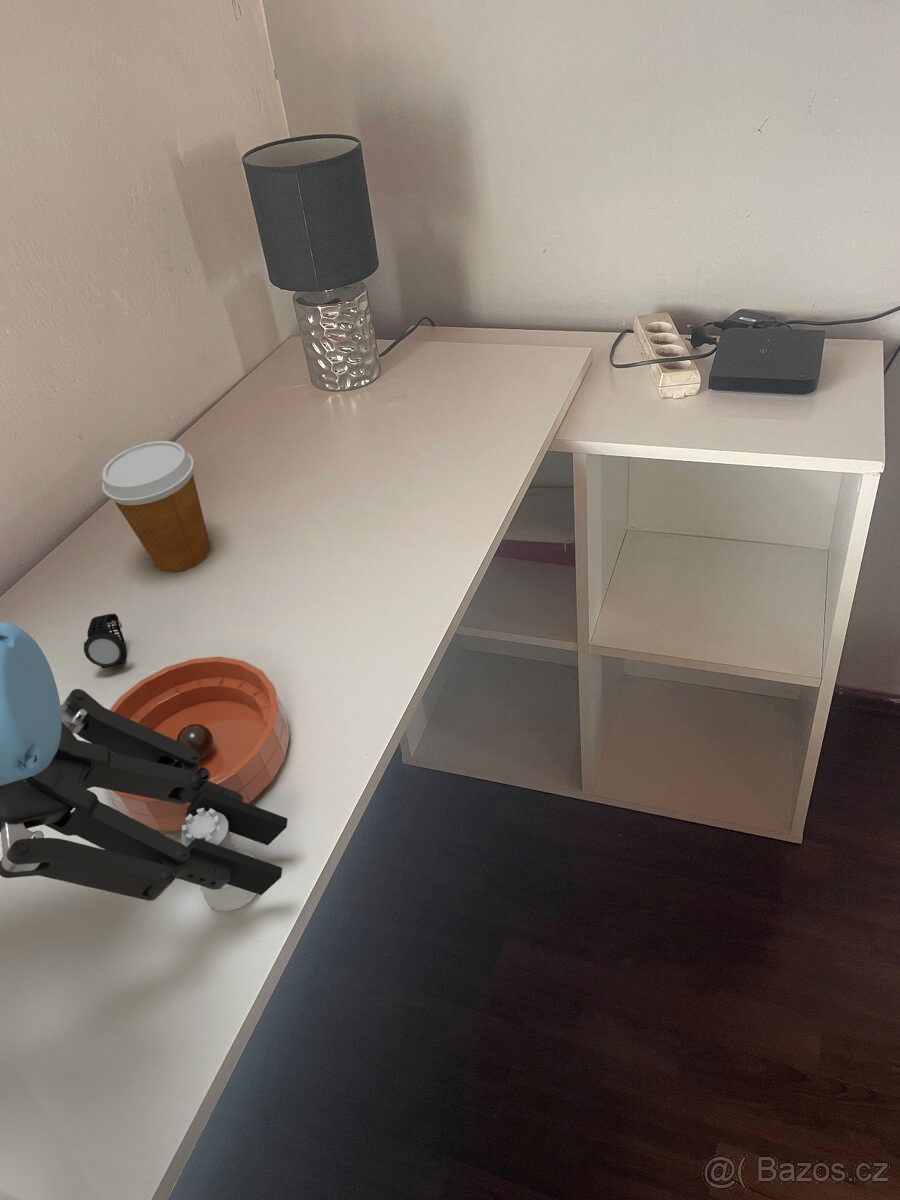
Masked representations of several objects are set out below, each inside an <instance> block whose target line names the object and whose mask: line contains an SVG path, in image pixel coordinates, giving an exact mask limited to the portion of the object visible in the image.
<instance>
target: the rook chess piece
mask: <svg viewBox="0 0 900 1200" xmlns="http://www.w3.org/2000/svg"><path fill="white" fill-rule="evenodd" d="M197 813H198V814H197V815H196V816H194V817H193V816H192V815H191V814H189V815H188V816H187V817H186V819H185V820H186V822H187V824H186V825H182V830H181V842H180V843H181V844H183V845H185V846H186V847H187V846H188V845H189V844H190V843H191V842H192V841H193V840H194V839H195V838H198V839H201V840H204V841H207V842H210V843H213V844H215V845H218V846H221V847H224V848H227V849H230V850H233V851H236V852H239V853H242V854H244V855H247V856H250V857H253V858H255V856H254V855H253V854H252V853H250V852H248V851H246V850H244V849H241V848H239V847H236V845H235V844H234V843H233V842H232V833H231V832H229V831H228V821H227V819H226V817H225V816H224V815H223V814H221V813H219V812H216V811H215V810H213V809H211V808H210V809H209V811H207V812H206V811H205V809H204V808H201V809H197ZM200 891H201V892H202V894H203V897H204V900H205V901H206V903H207V905H208V906H210V907H212V908H213V909H215V910H216V911H225V912H230V911H233V910H237V909H241V908H242V907H244V906H245V905H247V904H248V903H250V902H251V901H252V900H253V899H254V897H255V896H256V895H257V894H256V893H253V892H250V891H247V890H244V889H241V888H238V887H234V886H231V885H228V884H225V885H224V886H223V887H222V888H221V889H216V890H212V889H209V888H206V887H203V886H200Z"/></svg>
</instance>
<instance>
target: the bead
mask: <svg viewBox="0 0 900 1200" xmlns="http://www.w3.org/2000/svg"><path fill="white" fill-rule="evenodd" d="M176 741H178V742H180V743H182V744H184V745H187V746H189V747H191V748H193V749H195V750H197V751H198V752H199V753H200V756H201V758H200V759H202V758H204V757H206V756H207V755H208V754H209V753H210V751H211V750H212V747H213V742H214V740H213V735H212V733H211V732H210V730H209V729H208V728H206V727H205V726H203V725H200V724H191V725H188V726H186V727H185V728H183V729H182V730H181V731H180V733H179V734H178V736H177V740H176Z"/></svg>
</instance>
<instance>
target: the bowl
mask: <svg viewBox="0 0 900 1200" xmlns="http://www.w3.org/2000/svg"><path fill="white" fill-rule="evenodd" d="M109 710H110V711H113V712H115V713H117V714H119V715H121V716H124V717H126V718H128V719H130V720H132V721H134V722H137V723H139V724H141V725H143V726H145V727H147V728H150V729H152V730H154V731H156V732H158V733H160V734H163V735H165V736H167V737H169V738H171V739H174V740H177V736H178V734H179V733H180V731H181V730H182V729H183V728H185V727H186V726H188V725H191V724H200V725H203V726H205V727H206V728H208V729H209V730H210V732H211V733H212V735H213V740H214V742H213V747H212V750H211V751H210V753H209V754H208V755H207V756H206V757H204V758H202V759H200V761H199V762H198V766H199V769H200V768H201V767H202V766H203V767H205V768H206V769H208V771H209V772H210V778H209V779H208V780H207V781H209V782H212V783H215V784H217V785H220V786H223V787H224V788H228V789H229V790H233V791H236V792H238V793H239V794H240V795H242V796H243V801H242V802H245V803H248V804H250V803H252V802H253V801H254V800H255V799H256V797H257V796H259V795H260V794H261V793H262V792H263V791H264V790H265V789H266V788H267V787H268V786H269V785H270V784H271V783H272V781H273V780H274V778H275V777H276V775H277V773H278V772H279V770H280V768H281V766H282V764H283V763H284V761H285V760H286V756H287V751H288V746H289V742H290V730H289V724H288V720H287V715H286V713H285V711H284V708H283V704H282V702H281V700H280V697H279V695H278V693H277V690H276V687H275V685H274V683H272V681H271V680H270V678H269V677H268V676H267V675H266V674H265V673H264V671H263V670H262V669H260V668H258V667H256V666H254V665H252V664H250V663H249V662H247V661H245V660H242V659H236V658H230V657H225V656H209V657H198V658H197V657H196V658H192V659H188V660H185V661H181V662H177V663H174V664H172V665H168V666H165V667H164V668H162V669H160V670H158V671H156V672H154V673H152V674H150V675H148V676H146V677H145V678H142V679H141V680H139V681H138V682H136V683H135V684H134V685H133V686H132V687H131V688H129V689H128V690H127V691H126V692H125V693H123V694H122V695H121V696H120V697H118V699H117V700H116V701H115V702H114V704H113V705H112V706H111V708H110V709H109ZM110 752H111V751H110ZM112 753H113V752H112ZM176 761H177V760H176ZM105 791H106V793H107V794H108V795H109V796H110V798H111V800H112V801H113V803H114V804H115V806H116V808H117V809H118V811H119V812H121V813H123V814H125V815H127V816H129V817H131V818H132V819H134V820H136V821H138V822H140V823H142V824H144V825H146V826H148V827H150V828H152V829H154V830H156V831H162V832H173V831H182V825H186V824H187V822H186V820H185V819H186V814H187V809H188V807H189V806H190V805H191V804H192V803H189V802H188V803H186V804H178V803H173V802H168V801H163V800H158V799H153V798H148V797H143V796H138V795H133V794H128V793H123V792H118V791H113V790H108V789H105Z"/></svg>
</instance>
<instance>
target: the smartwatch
mask: <svg viewBox="0 0 900 1200" xmlns="http://www.w3.org/2000/svg"><path fill="white" fill-rule="evenodd" d="M122 628H123V623H122V622H121V621H120V619H119V616H118V615H117V614H116V613H107V614H102V615H98V616H95V617H92V618H91V619H90V622H89V626H88V629H87V633H86V634H87V639H85V641H84V642H83V653H84V655H85V657H86V659H87V660H88V661H89V662H90V663H92V664H93V665H95V666H98V667H101V669H109V668H110V669H111V668H114V667H120V666H123V665H124V664H125V663H126V660H127V646H126V642H125V637H124V634H123V632H122Z"/></svg>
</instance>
